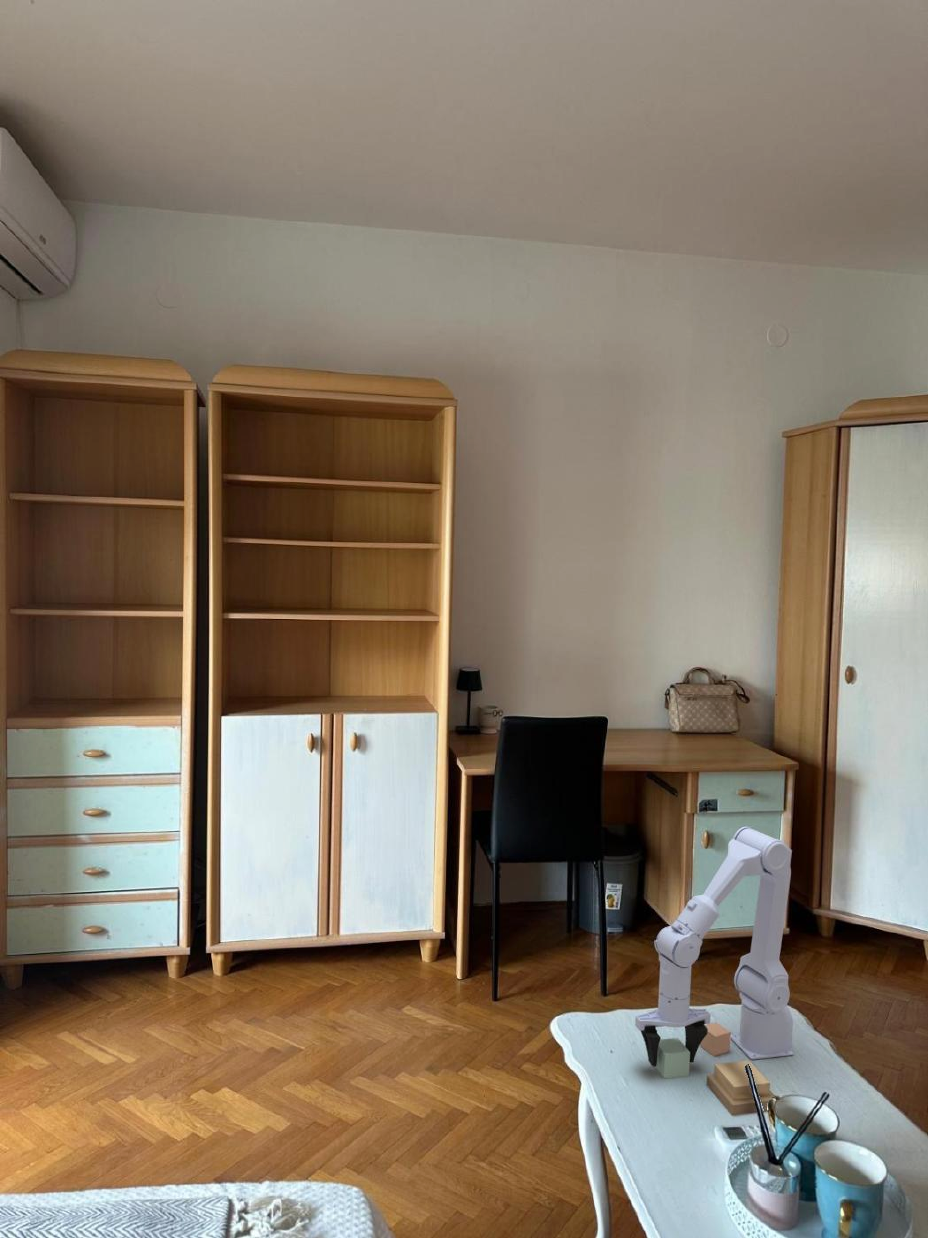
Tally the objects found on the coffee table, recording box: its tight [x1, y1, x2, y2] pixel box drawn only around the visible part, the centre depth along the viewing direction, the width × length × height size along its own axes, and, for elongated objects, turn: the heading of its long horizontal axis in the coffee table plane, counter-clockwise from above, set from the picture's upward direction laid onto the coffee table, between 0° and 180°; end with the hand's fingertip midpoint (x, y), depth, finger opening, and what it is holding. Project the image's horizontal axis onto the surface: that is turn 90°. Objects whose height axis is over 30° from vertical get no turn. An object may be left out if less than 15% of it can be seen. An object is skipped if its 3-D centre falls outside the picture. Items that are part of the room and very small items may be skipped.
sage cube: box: [655, 1037, 690, 1079], centre depth 163 cm, size 5×5×5 cm
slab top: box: [713, 1059, 771, 1100], centre depth 156 cm, size 7×7×2 cm
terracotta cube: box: [699, 1021, 732, 1057], centre depth 171 cm, size 4×4×4 cm
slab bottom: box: [706, 1073, 776, 1116], centre depth 156 cm, size 9×9×2 cm
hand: (670, 1061), depth 164 cm, fingers open, 7 cm apart
